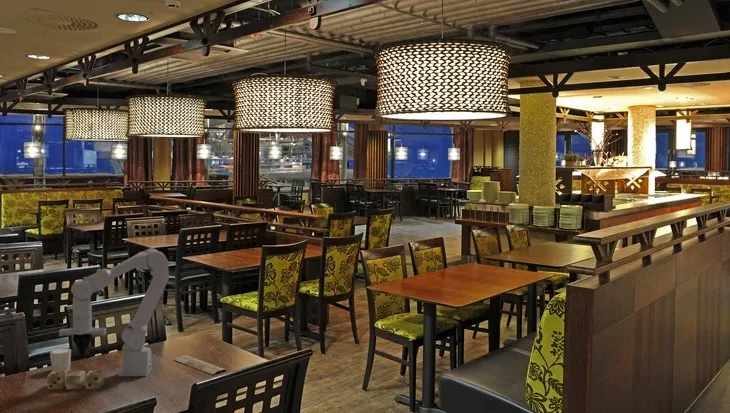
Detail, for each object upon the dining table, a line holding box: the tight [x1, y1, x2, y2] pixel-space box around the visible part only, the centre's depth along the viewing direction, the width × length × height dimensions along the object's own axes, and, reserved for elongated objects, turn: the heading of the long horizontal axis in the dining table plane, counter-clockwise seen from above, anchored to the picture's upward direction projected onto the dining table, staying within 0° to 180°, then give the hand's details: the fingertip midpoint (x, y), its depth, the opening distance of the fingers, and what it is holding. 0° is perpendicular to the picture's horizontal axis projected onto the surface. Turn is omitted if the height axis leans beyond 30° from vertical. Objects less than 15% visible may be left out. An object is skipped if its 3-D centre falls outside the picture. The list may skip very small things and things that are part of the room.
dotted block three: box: [47, 371, 68, 390], centre depth 204 cm, size 4×5×5 cm
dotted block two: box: [85, 369, 106, 389], centre depth 205 cm, size 4×5×5 cm
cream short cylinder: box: [49, 347, 72, 372], centre depth 219 cm, size 7×7×7 cm
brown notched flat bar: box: [173, 355, 226, 376], centre depth 226 cm, size 24×7×2 cm, turn 51°
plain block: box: [65, 370, 86, 390], centre depth 204 cm, size 4×4×4 cm
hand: (83, 356), depth 209 cm, fingers closed
